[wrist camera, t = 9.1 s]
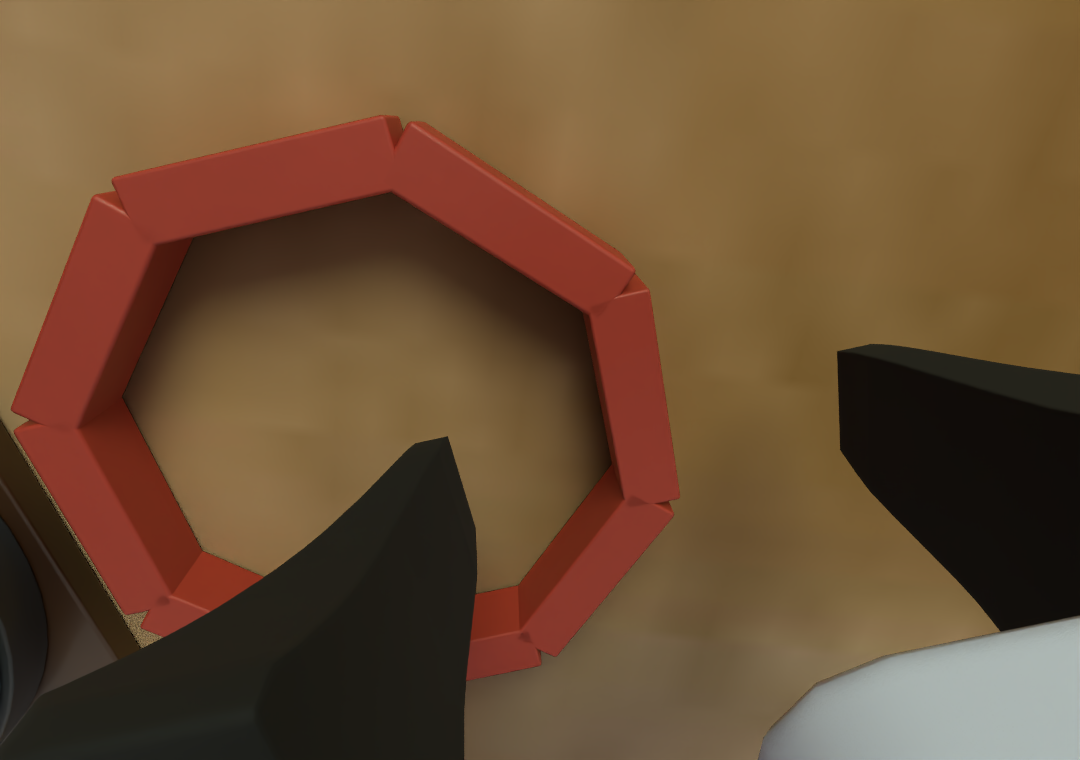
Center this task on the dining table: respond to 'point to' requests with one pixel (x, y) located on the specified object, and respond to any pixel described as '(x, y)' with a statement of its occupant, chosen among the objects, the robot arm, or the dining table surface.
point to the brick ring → (290, 188)
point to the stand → (45, 598)
